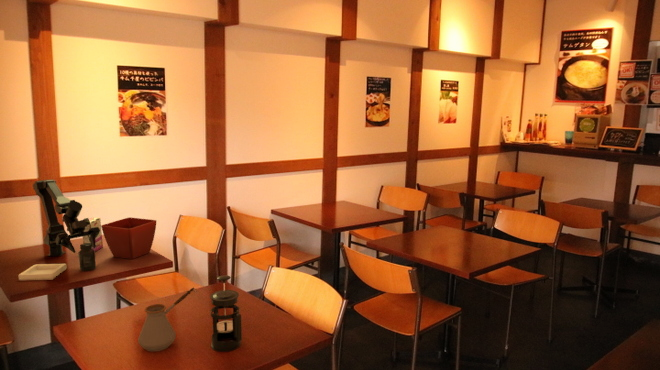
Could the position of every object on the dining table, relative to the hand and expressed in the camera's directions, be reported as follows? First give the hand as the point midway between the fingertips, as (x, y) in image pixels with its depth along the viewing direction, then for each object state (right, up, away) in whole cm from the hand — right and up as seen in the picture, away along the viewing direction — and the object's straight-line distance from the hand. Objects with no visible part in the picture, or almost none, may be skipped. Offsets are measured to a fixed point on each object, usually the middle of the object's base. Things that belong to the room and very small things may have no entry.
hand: (85, 250), depth 227 cm
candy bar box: (-10, -4, +29) cm, 32 cm away
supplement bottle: (+1, -9, +1) cm, 9 cm away
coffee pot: (+62, -21, -67) cm, 93 cm away
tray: (-15, -10, -7) cm, 20 cm away
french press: (+81, -21, -70) cm, 109 cm away
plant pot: (+13, -6, +23) cm, 26 cm away
